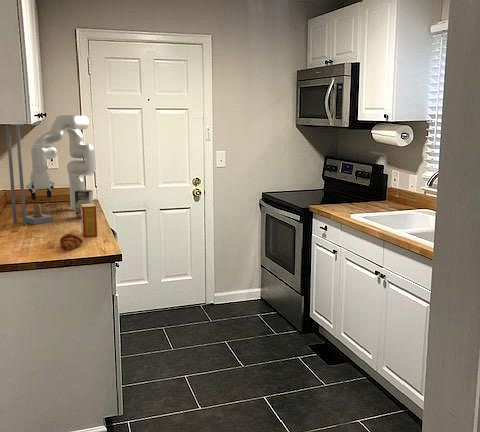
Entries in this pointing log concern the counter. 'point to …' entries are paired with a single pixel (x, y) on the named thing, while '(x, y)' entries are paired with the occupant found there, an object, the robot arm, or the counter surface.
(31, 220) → the socket
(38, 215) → the peg
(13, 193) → the grey two-post stand
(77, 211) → the coffee box
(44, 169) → the robot arm
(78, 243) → the croissant
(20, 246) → the counter surface
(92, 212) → the baking soda box
